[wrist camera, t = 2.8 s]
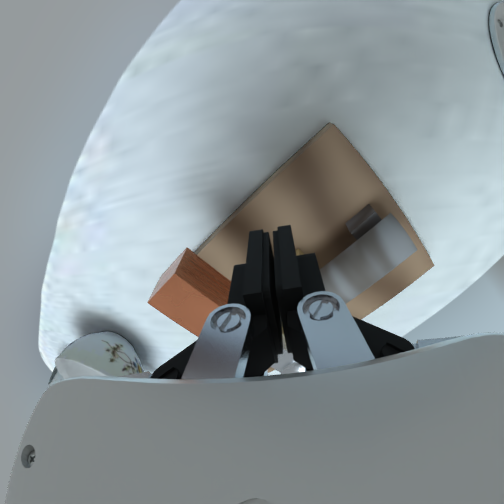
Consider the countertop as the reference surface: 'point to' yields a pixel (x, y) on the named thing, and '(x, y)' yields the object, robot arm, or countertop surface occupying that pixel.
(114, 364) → the teacup
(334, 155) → the stand
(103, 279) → the countertop surface
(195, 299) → the valve lever
